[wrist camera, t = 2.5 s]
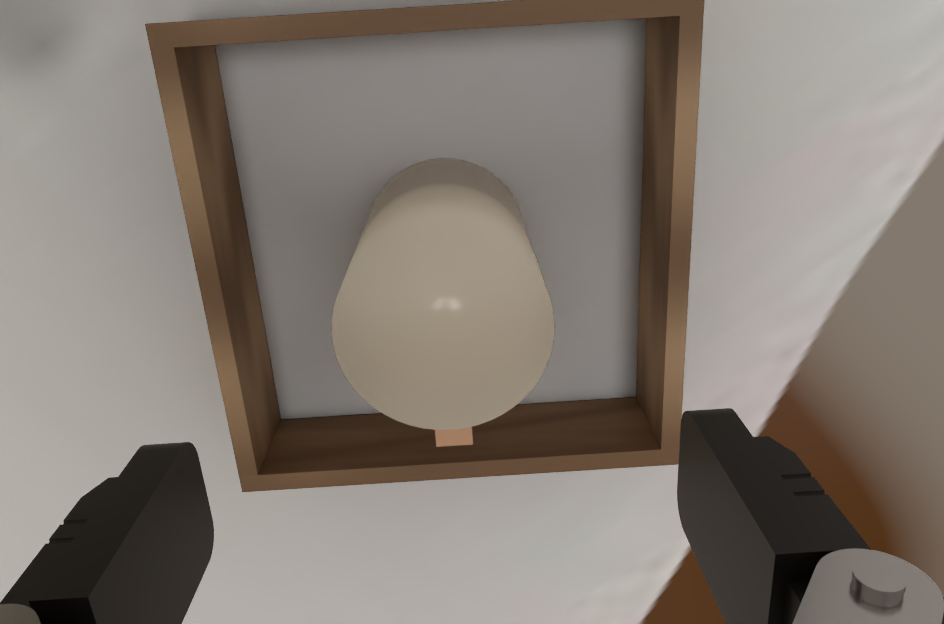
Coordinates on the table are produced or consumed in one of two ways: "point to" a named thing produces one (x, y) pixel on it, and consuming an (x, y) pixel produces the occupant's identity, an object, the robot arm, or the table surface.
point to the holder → (376, 435)
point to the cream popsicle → (443, 302)
